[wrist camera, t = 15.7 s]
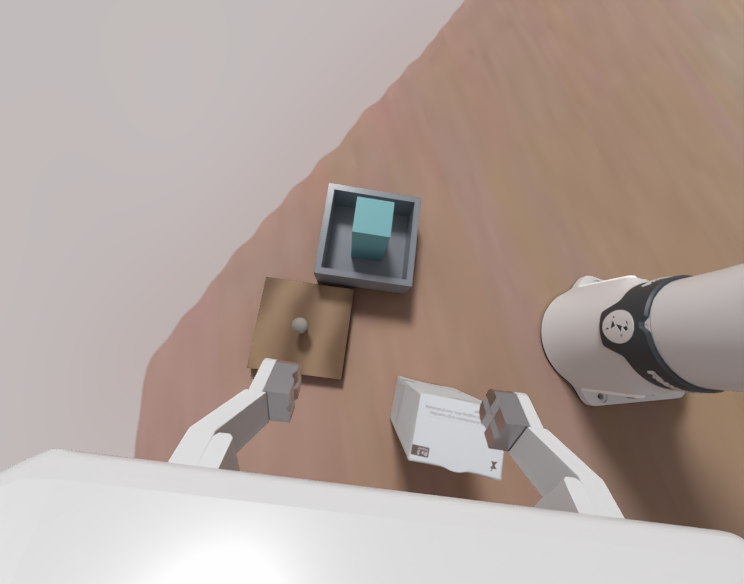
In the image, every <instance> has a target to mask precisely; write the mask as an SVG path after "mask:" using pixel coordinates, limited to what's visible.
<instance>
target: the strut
mask: <svg viewBox="0 0 744 584" xmlns="http://www.w3.org/2000/svg"><path fill="white" fill-rule="evenodd" d="M394 203H395V202H389V201H383V200H377V199H371V198H364V197H358V196H357V202H356V209H355V215H354V222H353V228H352V245H351V257H355V258H362V259H368V260H375V261H382V258H383V255H384V253H385V250H386V248H387V245H388V242H389V240H390V236H391V228H392V220H393V211H394Z"/></svg>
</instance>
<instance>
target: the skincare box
mask: <svg viewBox="0 0 744 584" xmlns="http://www.w3.org/2000/svg"><path fill="white" fill-rule="evenodd" d="M481 403H482V401H480V400H478V399H476V398H474V397H472V396H470V395H467V394H465V393H463V392H461V391H459V390H456V389H454V388H451V387H444V386H439V385H434V384H429V383H424V382H420V381H416V380H412V379H408V378H405V377H402V376H398V378H397V384H396V389H395V395H394V400H393V405H392V410H391V415H390V419H391V421H392V424H393V426H394V428H395V430H396V433H397V435H398V437H399V439H400V442H401V444H402V446H403V449H404V451H405V453H406V456H407V458H408V460H409V461H414V462H419V463H425V464H430V465H435V466H440V467H444V468H446V469H448V470H450V471H453V472H457V473H462V472H468V473H473V474H477V475H481V476H485V477H488V478H491V479H495V480H501V474H502V465H503V454H504V451H503V450H496V449H490V448H488V445H487V441H486V438H485V434H484V432H485V430H486V428H485V426H484V425H483V424H482V423H481V420H480V416H479V409H480V405H481Z"/></svg>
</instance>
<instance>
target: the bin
mask: <svg viewBox="0 0 744 584" xmlns="http://www.w3.org/2000/svg"><path fill="white" fill-rule="evenodd" d="M357 196H358V197H364V198H371V199H377V200H383V201H389V202H395V203H394V211H393V220H392V228H391V236H390V240H389V242H388V245H387V248H386V250H385V253H384V255H383V258H382V261H375V260H368V259H362V258H355V257H351V245H352V228H353V222H354V215H355V209H356V202H357ZM420 202H421V198H418V197H412V196H406V195H400V194H394V193H387V192H381V191H375V190H369V189H363V188H357V187H351V186H344V185H338V184H332V183H329V188H328V194H327V199H326V205H325V211H324V216H323V222H322V228H321V233H320V239H319V245H318V250H317V256H316V262H315V267H314V274H315V277H316V279H317V282H323V283H330V284H337V285H344V286H351V287H358V288H365V289H372V290H379V291H386V292H393V293H400V294H405V293H406V292H407V291H408V290H409V289H410V288H411V287H412V282H413V272H414V262H415V252H416V242H417V232H418V222H419V212H420Z"/></svg>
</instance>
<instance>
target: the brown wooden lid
mask: <svg viewBox="0 0 744 584" xmlns="http://www.w3.org/2000/svg"><path fill="white" fill-rule="evenodd" d="M353 294H354V289H347V288H340V287H333V286H326V285H318V284H311V283H304V282H297V281H290V280H283V279H276V278H269V277H266V281H265V285H264V290H263V295H262V299H261V304H260V309H259V313H258V318H257V323H256V328H255V332H254V337H253V342H252V346H251V351H250V356H249V360H248V365H247V368H253V369H259V368H260V366H261V364H262V362H263V360H264V359H265V358H270V359H276V360H283V361H289V362H295V363H301V366H302V369H301V373H300V374H301V375H309V376H317V377H325V378H333V379H341V377H342V370H343V363H344V356H345V349H346V343H347V336H348V329H349V322H350V315H351V308H352V301H353Z"/></svg>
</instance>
